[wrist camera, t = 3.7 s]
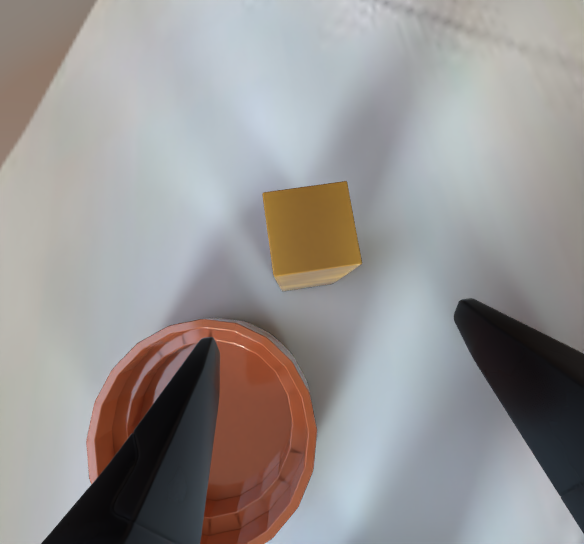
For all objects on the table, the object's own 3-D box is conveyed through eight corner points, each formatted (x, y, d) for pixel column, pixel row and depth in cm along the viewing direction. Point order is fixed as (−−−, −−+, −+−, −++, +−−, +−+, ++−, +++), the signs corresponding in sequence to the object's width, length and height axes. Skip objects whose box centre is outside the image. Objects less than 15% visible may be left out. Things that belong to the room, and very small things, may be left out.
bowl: (320, 329, 23) (326, 333, 19) (300, 531, 21) (302, 583, 17) (144, 308, 23) (113, 308, 19) (106, 504, 21) (62, 549, 17)
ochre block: (324, 234, 24) (347, 180, 14) (333, 283, 23) (362, 264, 13) (274, 241, 24) (261, 192, 14) (281, 291, 23) (273, 276, 13)
